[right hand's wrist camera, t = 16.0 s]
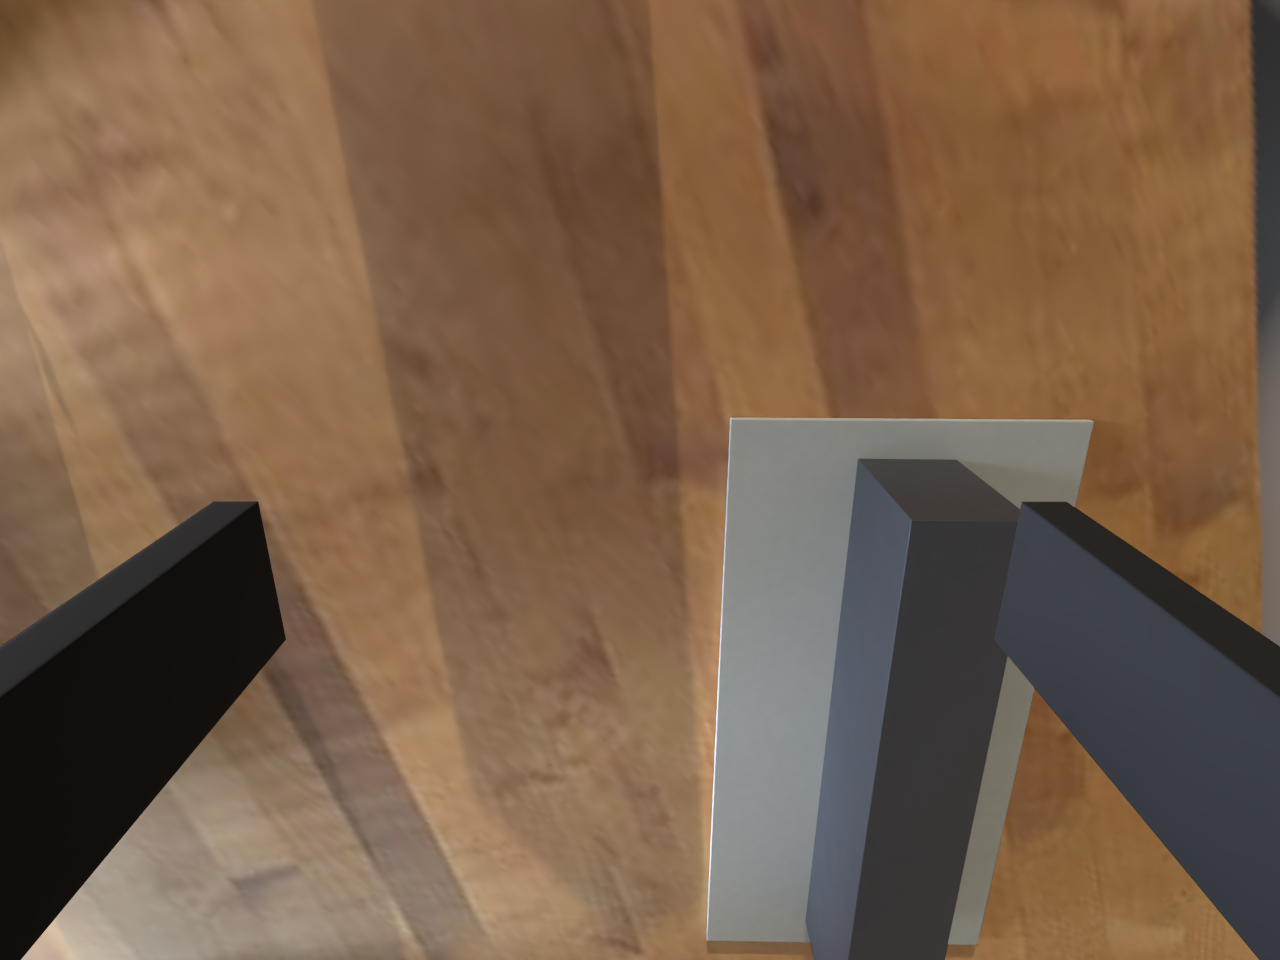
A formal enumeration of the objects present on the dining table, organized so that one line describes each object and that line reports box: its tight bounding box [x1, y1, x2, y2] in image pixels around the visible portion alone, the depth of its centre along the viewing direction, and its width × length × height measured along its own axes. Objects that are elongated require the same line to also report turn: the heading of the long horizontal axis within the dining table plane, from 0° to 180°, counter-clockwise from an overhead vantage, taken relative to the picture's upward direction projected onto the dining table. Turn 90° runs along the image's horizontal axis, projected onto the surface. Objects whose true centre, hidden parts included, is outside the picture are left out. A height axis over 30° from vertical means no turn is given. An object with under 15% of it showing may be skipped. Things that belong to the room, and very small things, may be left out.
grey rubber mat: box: [706, 418, 1094, 945], centre depth 42 cm, size 18×36×1 cm, turn 0°
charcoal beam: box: [806, 459, 1020, 960], centre depth 38 cm, size 32×5×8 cm, turn 0°
